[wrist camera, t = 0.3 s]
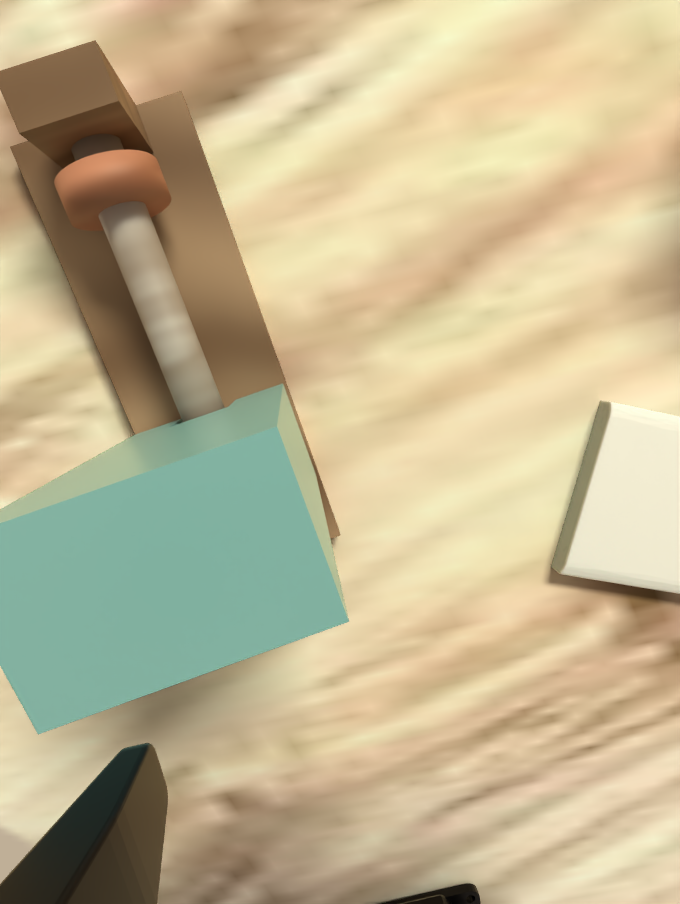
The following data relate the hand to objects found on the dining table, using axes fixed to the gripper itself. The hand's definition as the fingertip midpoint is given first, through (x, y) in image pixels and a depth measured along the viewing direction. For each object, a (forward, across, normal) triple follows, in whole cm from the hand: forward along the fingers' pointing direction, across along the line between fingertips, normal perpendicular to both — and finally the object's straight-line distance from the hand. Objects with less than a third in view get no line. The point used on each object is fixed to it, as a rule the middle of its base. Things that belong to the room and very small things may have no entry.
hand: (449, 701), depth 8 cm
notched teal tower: (+14, +5, -1) cm, 15 cm away
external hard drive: (+16, -16, +6) cm, 23 cm away
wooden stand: (+16, +5, -5) cm, 17 cm away
